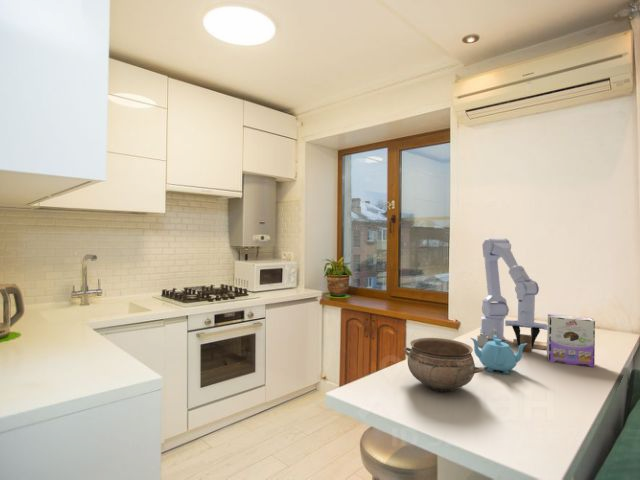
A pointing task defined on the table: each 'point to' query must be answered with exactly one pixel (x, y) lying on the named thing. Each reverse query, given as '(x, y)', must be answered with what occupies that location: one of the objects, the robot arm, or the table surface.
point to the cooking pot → (441, 363)
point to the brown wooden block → (527, 340)
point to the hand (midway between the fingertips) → (525, 345)
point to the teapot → (498, 355)
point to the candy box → (571, 340)
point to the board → (535, 344)
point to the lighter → (485, 338)
